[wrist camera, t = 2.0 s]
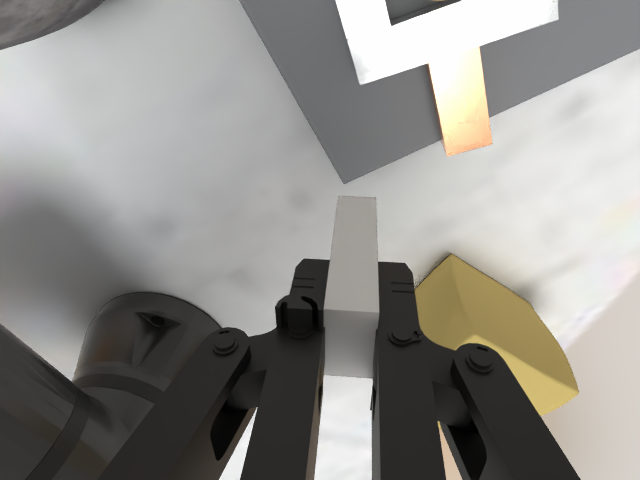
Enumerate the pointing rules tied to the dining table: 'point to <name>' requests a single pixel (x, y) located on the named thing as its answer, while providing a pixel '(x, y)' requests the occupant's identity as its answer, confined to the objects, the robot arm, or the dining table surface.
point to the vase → (38, 18)
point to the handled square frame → (441, 53)
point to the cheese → (495, 329)
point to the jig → (424, 72)
